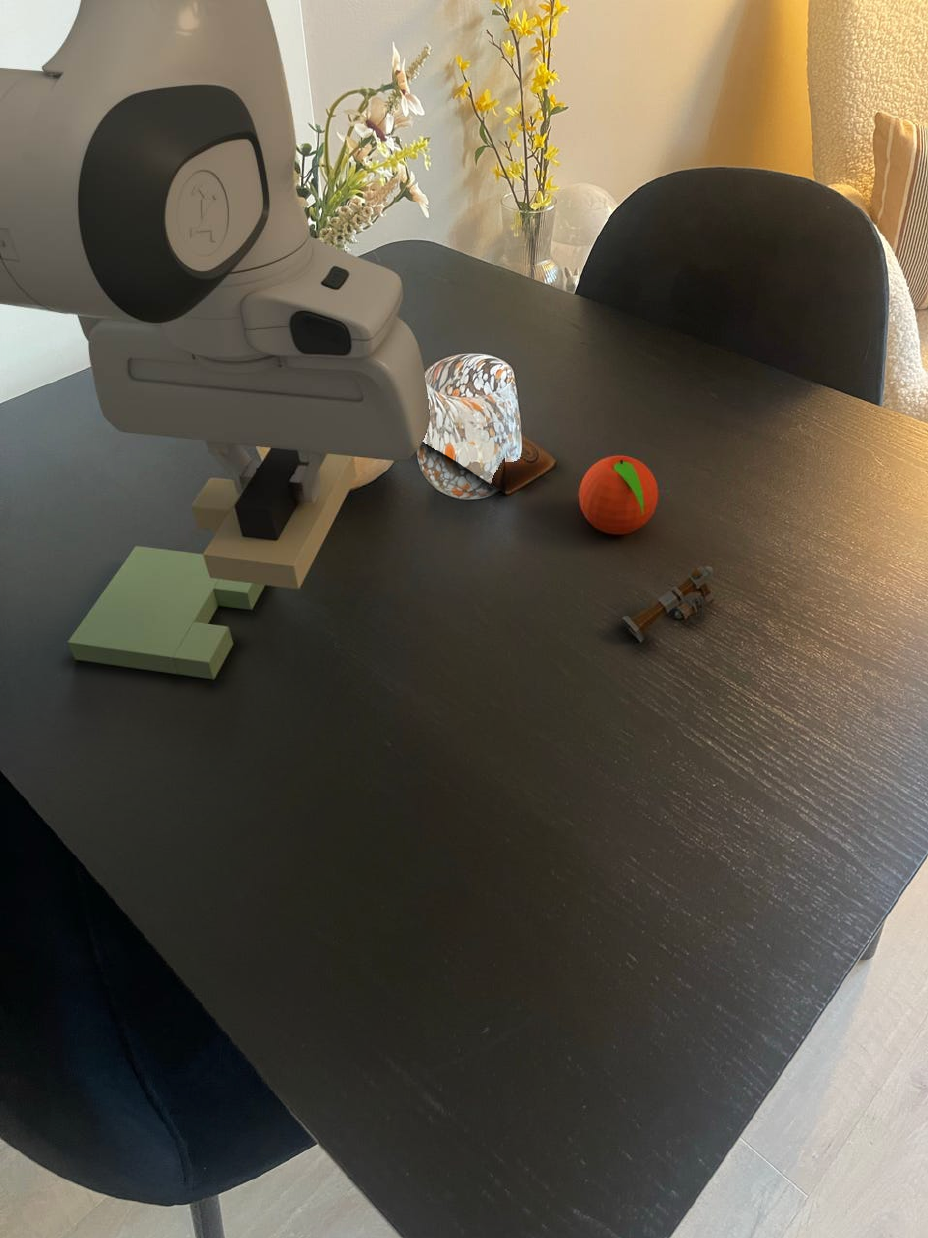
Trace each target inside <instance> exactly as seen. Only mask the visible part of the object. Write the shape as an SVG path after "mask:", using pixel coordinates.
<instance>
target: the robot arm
mask: <svg viewBox="0 0 928 1238" xmlns="http://www.w3.org/2000/svg"><path fill="white" fill-rule="evenodd" d="M289 93H290V92H289V87H288V82H287V78H286V73H285V67H284V63H283V59H282V54H281V48H280V45H279V41H278V37H277V34H276V29H275V26H274V21H273V18H272V14H271V11H270V8H269V4H268V1H267V0H80V2H79V7H78V11H77V14H76V16H75V19H74V21H73V24H72V26H71V28H70V30H69V32H68V34H67V36H66V38H65V40H64V41H63V43H62V44H61V46H60V47H59V48H58V50H56V52H55V53H54V55H52V56H51V57H50V59H48V61H46V62H45V63H44V64H43V65H42V66H41V70H34V69H33V70H32V69H21V68H8V67H0V305H5V306H11V307H17V308H23V309H29V310H30V309H31V310H37V311H43V312H51V313H57V314H64V315H73V316H77V318H78V322H79V325H80V327H81V330H82V333H83V336H84V337H85V339H86V340H87V345H88V346H87V347H88V358H89V363H90V369H91V370H90V371H91V375H92V381H93V385H94V389H95V393H96V397H97V400H98V401H97V402H98V404H99V409H100V411H101V413H102V416H103V418H104V419H105V420H106V421H107V422H108V423H109V424H110V425H111V426H113V427H114V429H116V430H117V431H119V432H121V433H127V434H135V435H145V436H154V437H155V436H157V437H165V438H173V439H184V440H192V441H193V440H194V441H203V442H206V446H207V450H208V453H209V454H210V455H211V456H212V457H213V458H214V459H215V460H216V461H217V463H219V465H221V467H222V468H223V469H224V470H225V471H226V472H227V473H228V474H229V475H231V476H232V480H233V481H234V485H235V489H236V492H237V494H240V495H241V494H242V493H243V491H244V490H245V488H246V486H247V485H248V483H249V482H250V480H251V479H252V477H253V475H254V474H255V472H256V471H257V469H258V468H259V466H260V464H261V463H262V460H255V459H252V458H251V456H250V455H249V454H248V452H247V451H246V450H245V448H244V447H243V446H250V447H252V446H253V447H258V448H259V447H260V448H269V449H270V448H278V449H288V450H298V454H299V459H300V461H301V462H308V461H309V464H308V466H302V465H298V466H297V468H296V470H295V471H294V473H295V474H293V475H292V476H291V478H290V480H289V486H290V491H291V492H292V494H291V496H292V499H293V500H294V501H301V502H309V503H315V502H316V500H317V498H318V497H319V495H320V493H321V487H322V485H321V479H320V473H319V469H320V467H321V465H322V463H323V461H324V459H325V457H326V455H327V454H336V455H345V456H354V458H355V457H356V458H366V459H375V460H383V461H384V460H385V461H393V462H406V461H408V460H409V459H411V457H412V456H414V454H416V452H417V451H418V450H419V449H420V447H421V446H422V444H423V443H424V442H423V440H424V438H425V435H426V433H427V429H428V426H429V421H430V409H429V399H428V395H429V392H428V385H427V377H426V374H425V368H424V363H423V359H422V355H421V351H420V347H419V344H418V341H417V338H416V336H415V335H414V333H413V331H412V330H411V328H410V327H409V326H408V325H407V324H406V322H405V321H403V320H402V319H400V318H399V317H398V314H399V312H400V308H401V305H402V302H403V297H404V291H403V282H402V279H401V277H400V276H399V274H397V273H396V272H395V271H393V270H392V269H390V268H387V267H384V266H382V265H380V264H377V263H374V262H371V261H369V260H366V259H364V258H362V257H358V256H356V255H354V254H351V253H348V252H346V251H343V250H341V249H339V248H336V247H334V246H332V245H330V244H327V243H326V242H324V241H322V240H320V239H318V238H316V237H313V236H311V229H310V223H309V219H308V217H307V214H306V212H305V209H304V206H303V205H302V203H301V201H300V198H299V195H298V191H297V187H296V181H295V163H296V156H297V138H296V130H295V124H294V118H293V117H294V115H293V111H292V105H291V99H290V94H289Z"/></svg>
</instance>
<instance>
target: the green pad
mask: <svg viewBox="0 0 928 1238" xmlns="http://www.w3.org/2000/svg"><path fill="white" fill-rule="evenodd" d="M265 586H266V585H261V584H253V583H245V582H238V581H230V580H223V579H215V578H210V576H209V573H208V569H207V566H206V563H205V560H204V556H203V553H195V552H187V551H178V550H177V551H176V550H169V549H163V548H162V549H161V548H153V547H146V546H138V545H136V546H135V547H134V548H133V549H132V551H131V552H130V553H129V555H128V557H127V558H126V559H125V561H124V562H123V563H122V565H121V566H120V568H119V569H118V570H117V572H116V574H115V575H114V576H113V578H112V579H111V580H110V582H109V583H108V585H107V586H106V587H105V589H104V591H103V592H102V593H101V594H100V596H99V597H98V599H97V600H96V602H95V603H94V604H93V606H92V607H91V609H90V610H89V611H88V613H87V614H86V615H85V617H84V618H83V620H82V621H81V623H80V624H79V625H78V627H77V628H76V630H75V631H74V633H73V634H72V636H71V637H70V638H69V639H68V641H67V644H68V647H69V649H70V651H71V653H72V656H73V658H74V659H75V660H77V661H84V662H89V663H90V662H91V663H97V664H103V665H104V664H105V665H110V666H119V667H123V668H124V667H125V668H132V669H139V670H145V671H153V672H158V673H159V672H160V673H165V674H166V673H167V674H172V675H181V676H187V677H194V678H202V679H206V680H207V679H208V680H215V678H217V675H218V673H219V672H220V670H221V668H222V666H223V664H224V662H225V660H226V659H227V656H228V655H229V653H230V651H231V649H232V647H233V646H234V641H233V638H232V634H231V631H230V627H229V626H227V625H219V624H211V623H210V621H211V619H212V617H213V616H214V615H215V612H216V611H217V609H218V607H224V608H225V607H226V608H231V609H232V608H233V609H241V610H249V611H252V610H253V609H254V607H255V605H256V603H257V602H258V599H259V598H260V595H261V594H262V592H263V591H264V588H265Z"/></svg>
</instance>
